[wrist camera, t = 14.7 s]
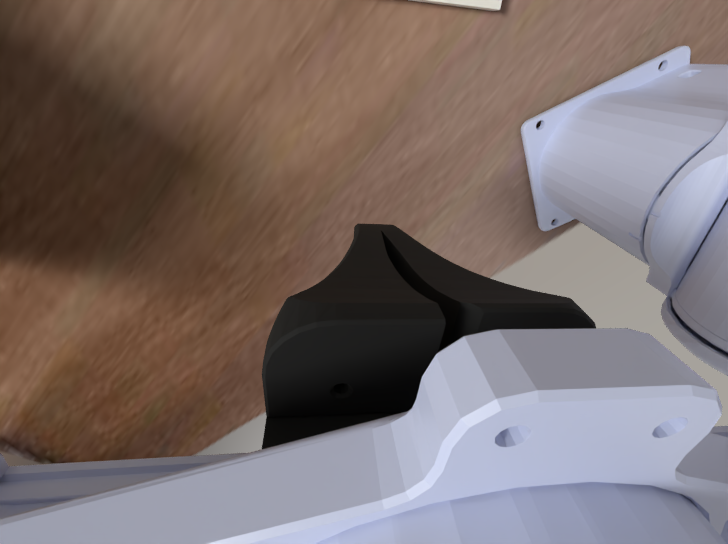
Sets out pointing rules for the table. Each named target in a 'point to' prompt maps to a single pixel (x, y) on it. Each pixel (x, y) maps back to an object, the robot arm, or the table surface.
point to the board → (469, 3)
